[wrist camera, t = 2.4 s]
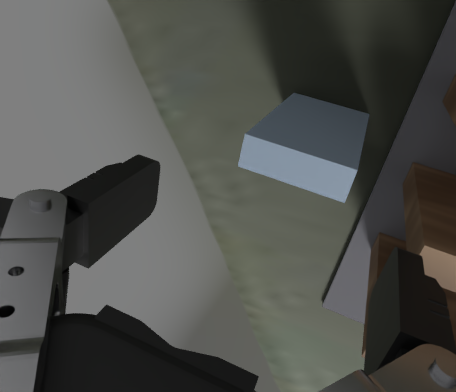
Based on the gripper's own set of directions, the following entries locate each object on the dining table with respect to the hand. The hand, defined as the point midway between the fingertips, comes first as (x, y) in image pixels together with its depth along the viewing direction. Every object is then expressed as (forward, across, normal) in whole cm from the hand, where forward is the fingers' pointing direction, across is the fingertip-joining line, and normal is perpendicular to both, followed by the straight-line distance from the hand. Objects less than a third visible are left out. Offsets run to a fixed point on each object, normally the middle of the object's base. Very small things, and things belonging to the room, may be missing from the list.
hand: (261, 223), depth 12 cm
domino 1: (+15, 0, 0) cm, 15 cm away
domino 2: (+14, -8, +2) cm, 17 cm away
